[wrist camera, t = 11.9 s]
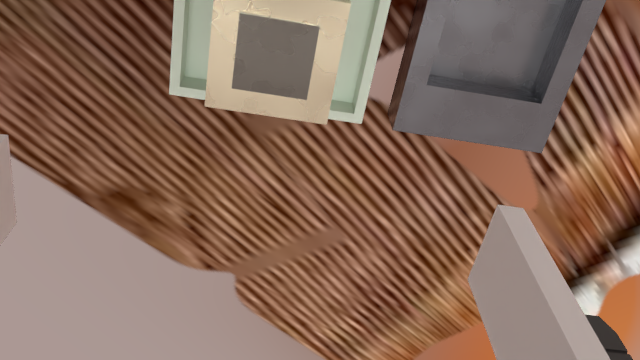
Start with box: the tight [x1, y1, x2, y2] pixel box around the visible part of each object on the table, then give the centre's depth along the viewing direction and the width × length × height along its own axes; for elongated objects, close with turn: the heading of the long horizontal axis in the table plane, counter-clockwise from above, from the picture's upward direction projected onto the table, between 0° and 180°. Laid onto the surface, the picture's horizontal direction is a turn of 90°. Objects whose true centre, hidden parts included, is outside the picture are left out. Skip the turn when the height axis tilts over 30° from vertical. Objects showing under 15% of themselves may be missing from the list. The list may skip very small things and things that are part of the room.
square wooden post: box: [205, 0, 351, 125], centre depth 31 cm, size 6×6×9 cm
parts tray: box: [169, 0, 391, 124], centre depth 35 cm, size 12×12×2 cm
